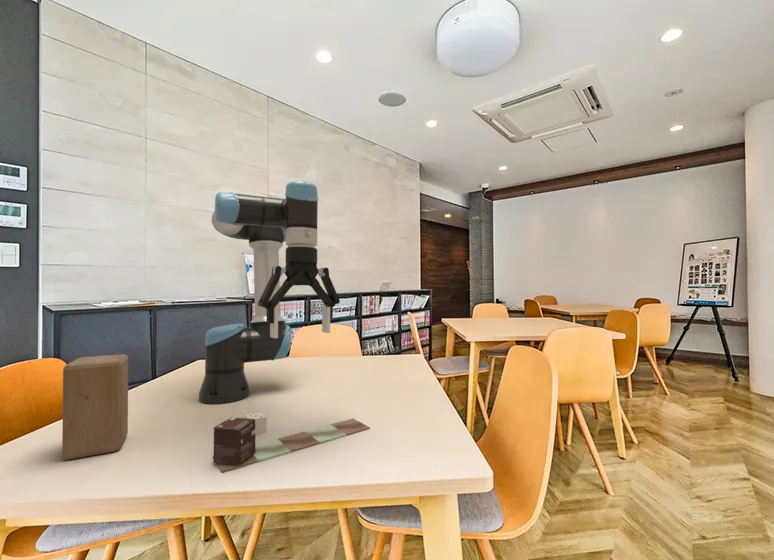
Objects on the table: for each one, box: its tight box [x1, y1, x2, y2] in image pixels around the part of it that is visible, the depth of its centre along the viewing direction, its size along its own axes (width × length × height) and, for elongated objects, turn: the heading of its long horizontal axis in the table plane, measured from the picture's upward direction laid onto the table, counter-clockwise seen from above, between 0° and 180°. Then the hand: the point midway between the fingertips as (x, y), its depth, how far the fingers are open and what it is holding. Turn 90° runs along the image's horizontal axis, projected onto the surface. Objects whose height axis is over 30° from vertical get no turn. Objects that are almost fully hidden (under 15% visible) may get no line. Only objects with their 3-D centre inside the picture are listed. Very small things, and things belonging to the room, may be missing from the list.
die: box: [244, 411, 267, 436], centre depth 89 cm, size 4×4×4 cm
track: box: [212, 417, 371, 474], centre depth 83 cm, size 8×35×1 cm, turn 128°
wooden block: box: [61, 353, 129, 460], centre depth 81 cm, size 10×10×20 cm
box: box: [213, 417, 256, 465], centre depth 75 cm, size 6×6×7 cm
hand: (301, 335), depth 87 cm, fingers open, 13 cm apart
